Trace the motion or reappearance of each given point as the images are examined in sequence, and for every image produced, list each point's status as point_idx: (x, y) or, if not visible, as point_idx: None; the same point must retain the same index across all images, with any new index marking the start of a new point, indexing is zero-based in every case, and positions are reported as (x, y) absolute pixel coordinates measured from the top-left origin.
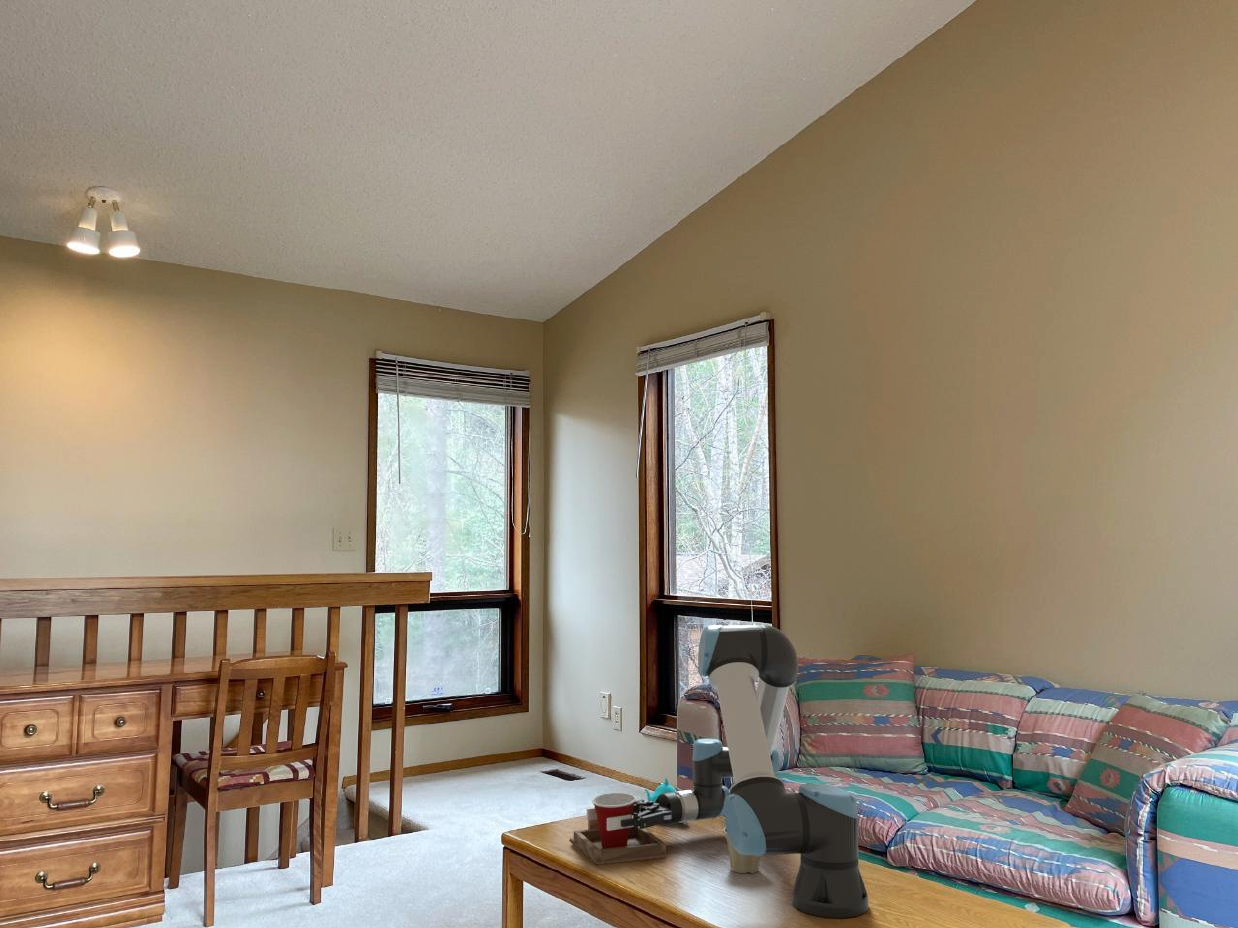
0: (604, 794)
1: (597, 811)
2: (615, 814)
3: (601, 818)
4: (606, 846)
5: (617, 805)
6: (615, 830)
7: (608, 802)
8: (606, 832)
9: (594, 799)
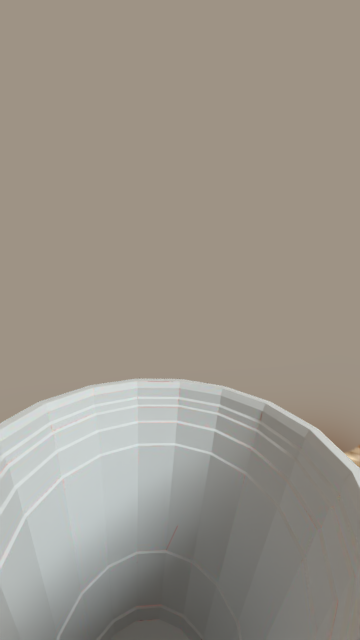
0: (338, 462)
1: (171, 430)
2: (52, 467)
3: (142, 461)
4: (129, 600)
5: (23, 412)
6: (69, 561)
7: (319, 543)
8: (118, 534)
9: (245, 402)
